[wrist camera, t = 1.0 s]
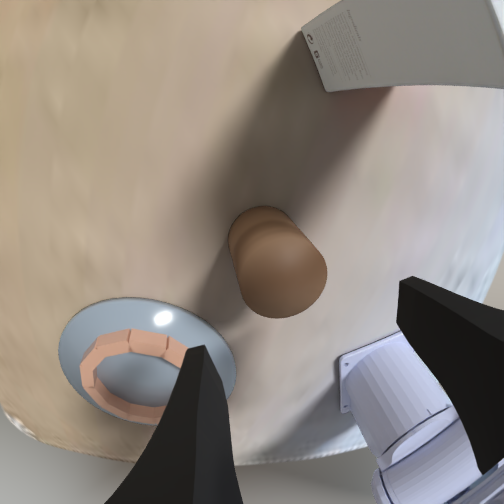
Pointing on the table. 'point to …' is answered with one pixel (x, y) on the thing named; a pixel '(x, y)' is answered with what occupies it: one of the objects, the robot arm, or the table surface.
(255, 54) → the table surface
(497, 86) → the skincare box
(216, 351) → the ring dish
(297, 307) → the brown rounded cylinder
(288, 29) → the table surface
